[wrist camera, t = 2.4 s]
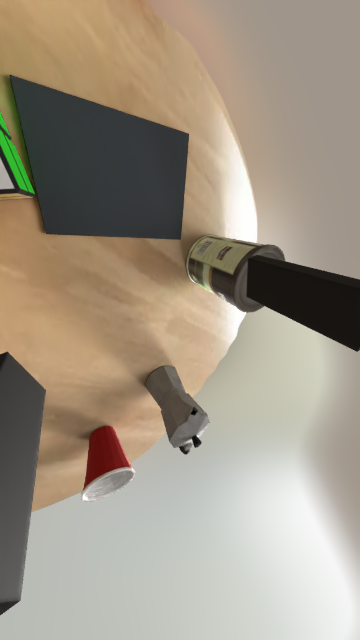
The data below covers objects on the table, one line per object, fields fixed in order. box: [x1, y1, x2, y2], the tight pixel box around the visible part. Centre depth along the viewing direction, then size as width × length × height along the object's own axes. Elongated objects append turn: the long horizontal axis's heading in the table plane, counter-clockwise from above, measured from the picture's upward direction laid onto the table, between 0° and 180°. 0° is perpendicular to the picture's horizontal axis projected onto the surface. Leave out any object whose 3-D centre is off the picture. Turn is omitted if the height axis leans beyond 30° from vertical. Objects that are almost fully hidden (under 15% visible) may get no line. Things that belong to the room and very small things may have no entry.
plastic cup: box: [81, 426, 135, 502], centre depth 44 cm, size 11×11×12 cm
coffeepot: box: [145, 366, 210, 454], centre depth 43 cm, size 15×9×18 cm, turn 173°
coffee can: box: [186, 235, 285, 313], centre depth 33 cm, size 10×10×14 cm
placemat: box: [10, 75, 189, 240], centre depth 26 cm, size 20×14×1 cm
